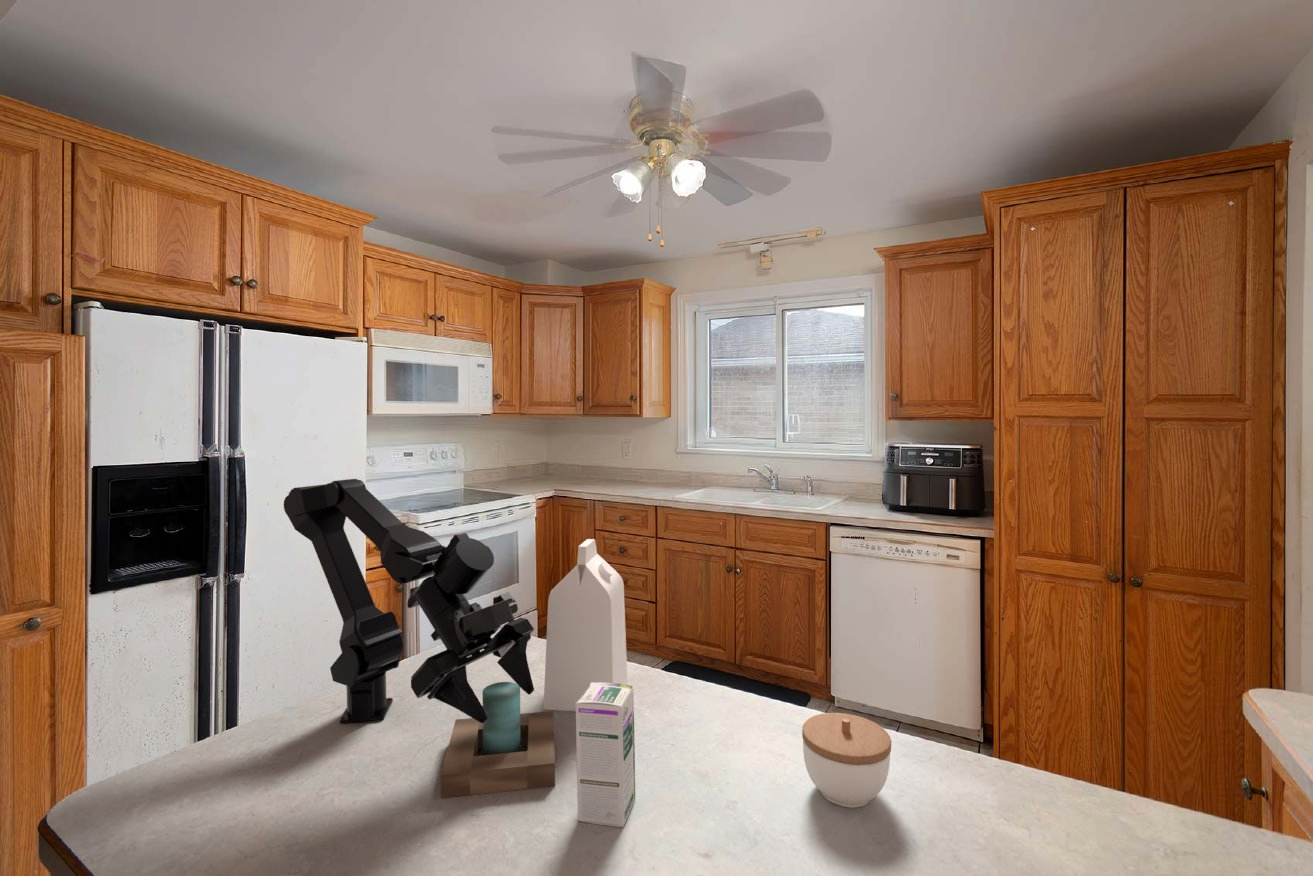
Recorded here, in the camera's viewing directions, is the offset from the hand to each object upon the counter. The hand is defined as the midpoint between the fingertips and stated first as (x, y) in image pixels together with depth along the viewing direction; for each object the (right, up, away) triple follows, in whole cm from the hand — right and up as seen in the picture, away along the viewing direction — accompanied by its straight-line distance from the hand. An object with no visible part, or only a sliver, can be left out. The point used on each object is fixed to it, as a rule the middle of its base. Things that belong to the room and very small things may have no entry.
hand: (509, 706), depth 85 cm
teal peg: (-1, -8, +1) cm, 8 cm away
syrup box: (+14, -9, -9) cm, 19 cm away
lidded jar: (+44, -9, -6) cm, 45 cm away
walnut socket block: (-1, -8, +1) cm, 8 cm away
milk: (+8, -7, +21) cm, 24 cm away
